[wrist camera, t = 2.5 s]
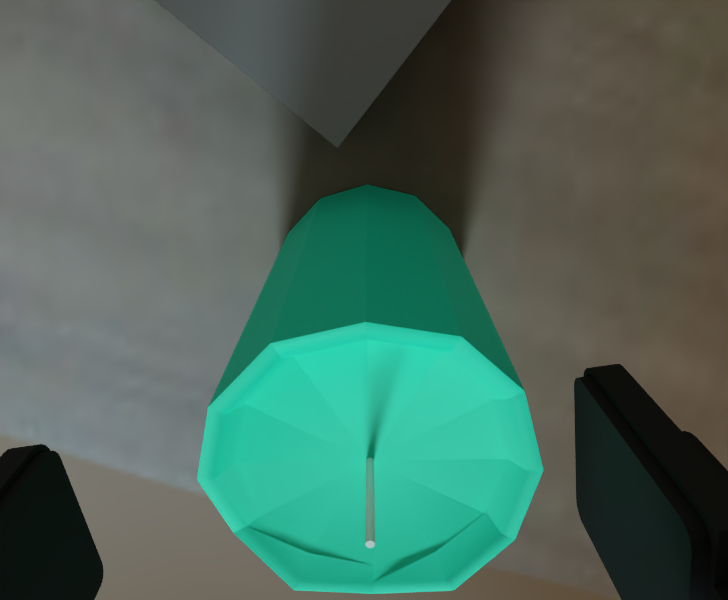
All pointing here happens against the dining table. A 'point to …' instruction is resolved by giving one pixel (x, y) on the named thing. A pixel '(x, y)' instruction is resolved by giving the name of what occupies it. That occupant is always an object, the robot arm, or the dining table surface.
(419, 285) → the candle
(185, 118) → the dining table surface
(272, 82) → the plinth
